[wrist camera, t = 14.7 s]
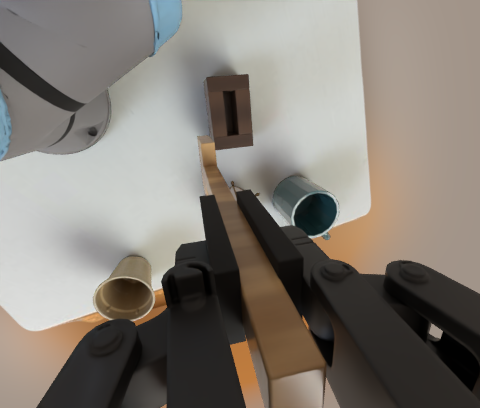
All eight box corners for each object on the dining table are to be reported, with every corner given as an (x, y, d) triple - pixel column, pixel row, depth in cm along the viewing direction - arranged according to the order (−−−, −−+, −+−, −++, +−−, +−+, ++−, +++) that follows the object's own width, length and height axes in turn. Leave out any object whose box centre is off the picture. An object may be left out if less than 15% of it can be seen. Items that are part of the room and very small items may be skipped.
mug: (264, 193, 49) (281, 212, 40) (300, 167, 48) (325, 179, 40) (293, 233, 54) (314, 258, 45) (326, 209, 53) (353, 229, 44)
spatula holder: (244, 141, 45) (253, 145, 39) (211, 145, 44) (215, 150, 38) (240, 78, 41) (248, 74, 35) (203, 81, 40) (206, 77, 34)
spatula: (213, 183, 30) (319, 468, 6) (203, 184, 30) (272, 483, 6) (207, 135, 28) (336, 276, 4) (197, 136, 28) (265, 290, 4)
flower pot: (147, 294, 52) (140, 328, 44) (100, 280, 48) (83, 314, 41) (167, 258, 50) (164, 287, 42) (119, 241, 46) (106, 268, 39)
